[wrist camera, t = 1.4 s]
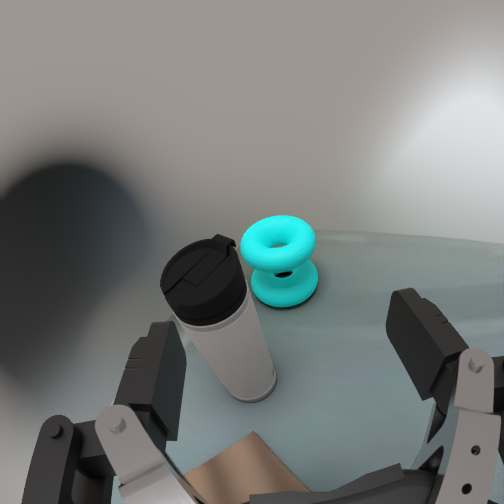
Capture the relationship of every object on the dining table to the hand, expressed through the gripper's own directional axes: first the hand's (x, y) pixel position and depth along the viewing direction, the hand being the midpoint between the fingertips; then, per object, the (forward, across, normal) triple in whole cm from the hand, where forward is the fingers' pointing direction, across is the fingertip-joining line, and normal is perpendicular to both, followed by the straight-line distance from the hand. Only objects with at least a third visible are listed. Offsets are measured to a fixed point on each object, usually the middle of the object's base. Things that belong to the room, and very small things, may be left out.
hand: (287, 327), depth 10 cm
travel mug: (+15, +3, +22) cm, 27 cm away
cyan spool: (+29, -4, +18) cm, 34 cm away
